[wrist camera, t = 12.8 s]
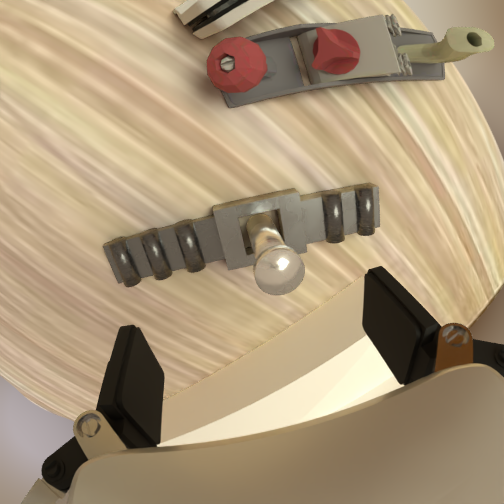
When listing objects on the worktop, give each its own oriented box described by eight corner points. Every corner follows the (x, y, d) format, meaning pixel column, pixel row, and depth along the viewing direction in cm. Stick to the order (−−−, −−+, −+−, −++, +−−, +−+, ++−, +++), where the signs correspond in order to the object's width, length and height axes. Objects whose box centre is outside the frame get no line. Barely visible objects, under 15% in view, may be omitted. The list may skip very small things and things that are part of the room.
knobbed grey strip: (123, 286, 34) (117, 299, 31) (102, 235, 31) (93, 246, 28) (372, 228, 35) (384, 237, 32) (369, 174, 32) (382, 180, 29)
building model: (360, 274, 38) (394, 314, 29) (402, 350, 47) (426, 385, 38) (139, 410, 45) (133, 452, 37) (217, 450, 54) (220, 485, 46)
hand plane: (445, 80, 27) (530, 82, 14) (217, 112, 27) (220, 99, 14) (433, 33, 24) (514, 20, 11) (199, 53, 24) (187, -5, 11)
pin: (238, 213, 32) (250, 257, 22) (274, 205, 32) (301, 245, 22) (245, 246, 34) (259, 300, 24) (279, 238, 34) (307, 288, 24)
